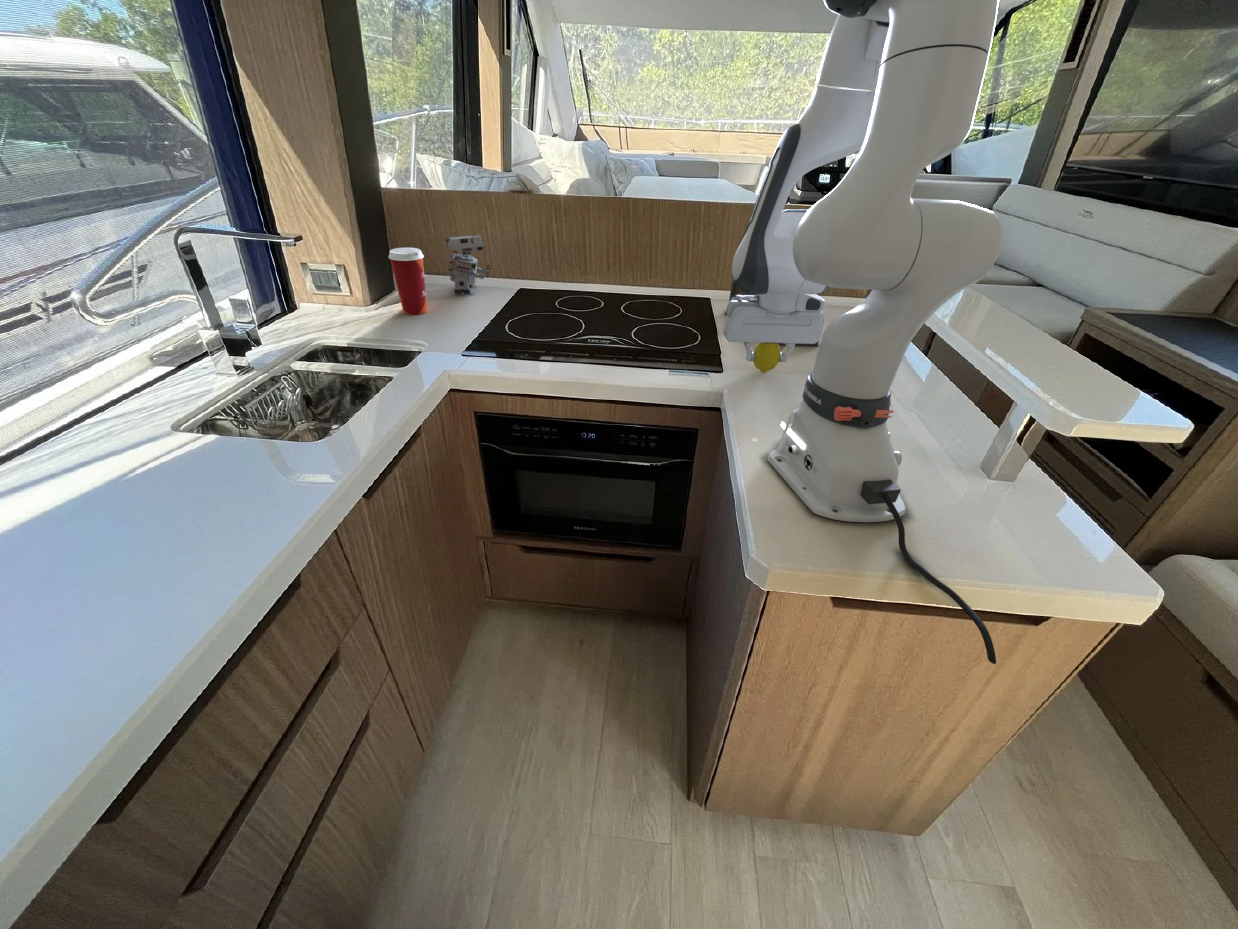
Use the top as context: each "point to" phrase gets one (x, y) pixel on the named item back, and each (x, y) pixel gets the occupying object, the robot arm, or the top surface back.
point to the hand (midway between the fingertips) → (765, 360)
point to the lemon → (766, 356)
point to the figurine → (465, 262)
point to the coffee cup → (409, 279)
